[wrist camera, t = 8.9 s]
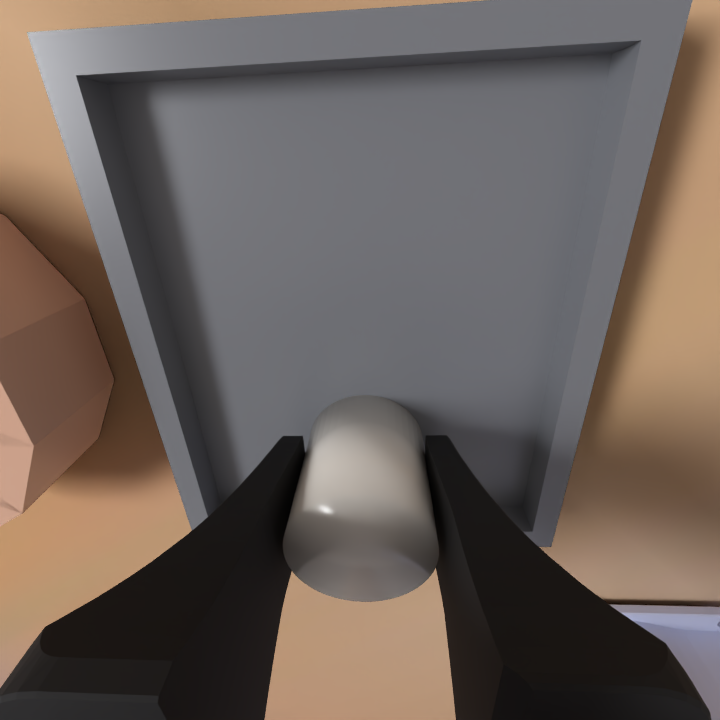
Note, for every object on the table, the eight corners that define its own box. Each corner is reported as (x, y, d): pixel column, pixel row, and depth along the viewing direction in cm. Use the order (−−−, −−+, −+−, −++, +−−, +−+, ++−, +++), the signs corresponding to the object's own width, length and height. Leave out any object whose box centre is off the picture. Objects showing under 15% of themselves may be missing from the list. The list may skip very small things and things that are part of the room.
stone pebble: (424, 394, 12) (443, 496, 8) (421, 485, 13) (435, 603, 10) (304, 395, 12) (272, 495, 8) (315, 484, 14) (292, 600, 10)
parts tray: (644, 14, 8) (696, -15, 7) (535, 511, 14) (551, 546, 13) (80, 51, 9) (26, 32, 7) (212, 508, 15) (195, 542, 14)
